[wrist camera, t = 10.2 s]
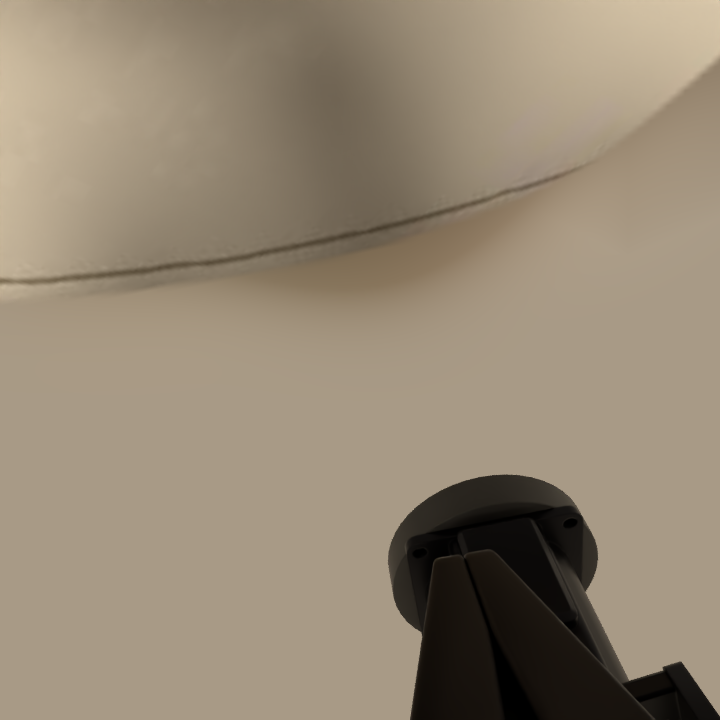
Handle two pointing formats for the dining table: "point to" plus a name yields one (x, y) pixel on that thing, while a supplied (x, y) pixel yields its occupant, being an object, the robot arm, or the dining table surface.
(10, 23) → the dining table surface
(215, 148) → the dining table surface
